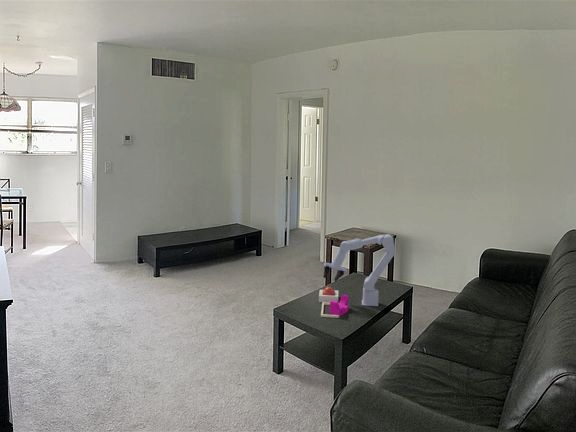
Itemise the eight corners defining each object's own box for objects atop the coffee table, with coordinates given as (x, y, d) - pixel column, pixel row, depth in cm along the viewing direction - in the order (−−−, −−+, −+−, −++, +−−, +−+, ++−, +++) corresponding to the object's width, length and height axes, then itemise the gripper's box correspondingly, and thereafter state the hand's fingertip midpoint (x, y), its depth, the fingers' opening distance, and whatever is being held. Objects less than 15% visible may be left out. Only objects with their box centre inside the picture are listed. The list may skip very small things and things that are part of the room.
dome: (334, 294, 291) (334, 285, 290) (334, 298, 284) (334, 289, 283) (323, 293, 292) (323, 285, 291) (322, 297, 285) (323, 288, 284)
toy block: (339, 316, 261) (339, 304, 260) (329, 314, 265) (330, 301, 264) (352, 309, 274) (352, 296, 272) (342, 306, 277) (343, 294, 276)
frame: (339, 305, 279) (339, 303, 279) (338, 317, 259) (339, 315, 259) (322, 304, 280) (322, 302, 280) (320, 316, 260) (320, 314, 260)
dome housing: (338, 296, 293) (338, 290, 293) (338, 303, 282) (338, 296, 281) (319, 295, 295) (319, 289, 294) (318, 302, 283) (318, 295, 283)
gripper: (347, 260, 288) (338, 279, 291) (326, 253, 283) (317, 273, 287) (350, 265, 281) (341, 284, 285) (329, 258, 277) (320, 278, 280)
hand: (329, 279), depth 285 cm, fingers open, 7 cm apart
